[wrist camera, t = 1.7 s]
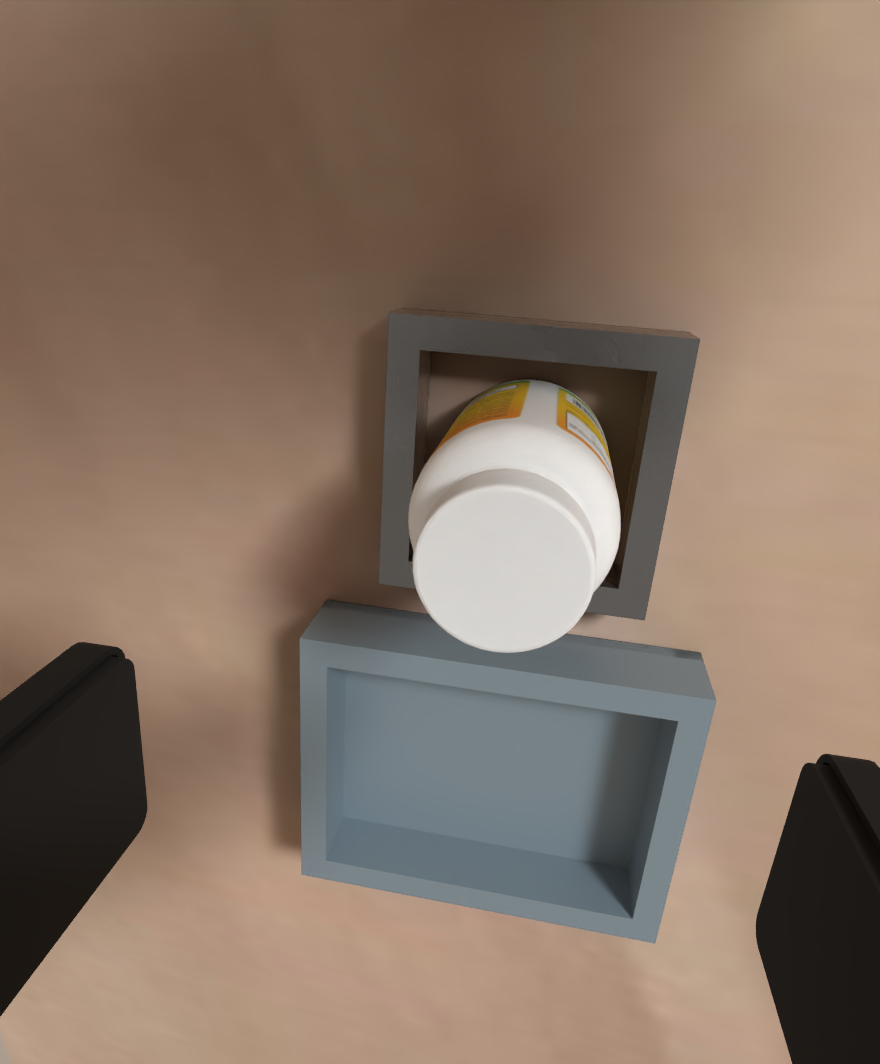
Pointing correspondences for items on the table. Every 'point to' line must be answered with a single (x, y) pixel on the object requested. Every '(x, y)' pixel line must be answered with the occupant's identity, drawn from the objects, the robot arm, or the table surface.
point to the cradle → (551, 342)
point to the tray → (498, 768)
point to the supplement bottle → (515, 518)
